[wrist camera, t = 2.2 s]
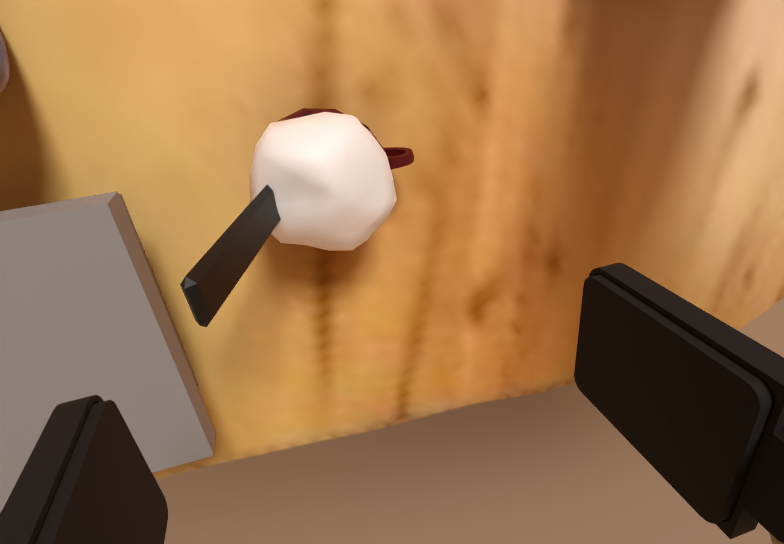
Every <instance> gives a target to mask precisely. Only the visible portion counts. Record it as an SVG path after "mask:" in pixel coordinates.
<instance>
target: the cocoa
mask: <svg viewBox="0 0 784 544" xmlns="http://www.w3.org/2000/svg"><path fill="white" fill-rule="evenodd" d="M413 161H414V155H413V152H412V150H411V149H409V148H397V147H392V148H383V147H382V146H381V144H380V143H379V142H378V140H377V139H376V138H375V136H374V135H373V133H372V132H371V131H370V129H369V128H368V127H367V126H366V125H364V124H362V123H360V122H359V121H358V120H357V118H356V117H354V116H352V115H346V114H343V113H341V112H339V111H338V110H336V109H307V108H303V109H301V110H299V111H297V112H295V113H293V114H291V115H289V116H287V117H285V118H283V119H281V120H279V121H277V122H273V123H270V124H269V126H268V127H267V129H266V130H265V132H264V133H263V135H262V136H261V137H260V139H259V140H258V142H257V143H256V145H255V148H254V154H253V160H252V166H251V172H250V202H251V203H250V204H249V205H248V206H247V207H246V209H245V210H244V211H243V212H242V213H241V214H240V215H239V216H238V218H237V219H236V220H235V221H234V222H233V223H232V224H231V225H230V227H229V228H228V229H227V230H226V231H225V232H224V233H223V234H222V236H221V237H220V238H219V239H218V240H217V241H216V242H215V244H214V245H213V246H212V247H211V248H210V249H209V250H208V251H207V253H206V254H205V255H204V256H203V257H202V258H201V259H200V260H199V262H198V263H197V264H196V265H195V266H194V267H193V268H192V269H191V271H190V272H189V273H188V274H187V275H186V276H185V278H184V279H183V281H182V283H181V284H180V285H181V288H182V290H183V292H184V295H185V297H186V299H187V302H188V304H189V306H190V309H191V311H192V313H193V316H194V318H195V320H196V322H197V323H198V324H199V325H200V326H204V327H207V326H208V324H209V323H210V322H211V320H212V319H213V317H214V316H215V314H216V313H217V311H218V310H219V308H220V307H221V306H222V304H223V303H224V301H225V300H226V298H227V297H228V295H229V294H230V292H231V291H232V290H233V288H234V287H235V285H236V284H237V282H238V281H239V279H240V278H241V276H242V275H243V274H244V272H245V271H246V269H247V268H248V266H249V265H250V263H251V262H252V260H253V259H254V258H255V256H256V255H257V253H258V252H259V250H260V249H261V247H262V246H263V244H264V243H265V242H266V240H267V239H268V237H269V236H270V234H272V235H273V236H274V237H275V238H276V239H277V240H278V241H279V242H280V243H286V244H298V245H307V246H311V247H315V248H320V249H324V250H328V251H339V250H354V249H355V248H356V247H358V246H359V245H361V244H362V243H364V242H365V241H366V240H368V239H369V238H370V236H371V235H372V233H373V232H374V231H375V230H376V229H377V228H378V227H379V226H380V225H381V224H382V223H383V222H384V221H385V220H386V219H387V218H388V216H389V214H390V212H391V211H392V209H393V207H394V205H395V203H396V201H397V198H396V193H395V187H394V182H393V177H392V173H391V169H395V168H399V167H403V166H407V165H409V164H411V163H412V162H413Z"/></svg>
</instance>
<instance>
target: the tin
mask: <svg viewBox="0 0 784 544" xmlns="http://www.w3.org/2000/svg"><path fill="white" fill-rule="evenodd" d="M9 75H10V64H9V57H8V53H7V49H6V45H5V41H4V38H3V36H2V33H1V31H0V94H1V93H2V92H3V91H4V90H5V88H6V86H7V84H8V81H9Z"/></svg>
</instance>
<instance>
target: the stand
mask: <svg viewBox="0 0 784 544" xmlns="http://www.w3.org/2000/svg"><path fill="white" fill-rule="evenodd" d="M197 385H198V384H197V381H196V379H195V376H194V374H193V371H192V369H191V366H190V364H189V361H188V359H187V356H186V354H185V351H184V349H183V347H182V344H181V342H180V339H179V337H178V334H177V332H176V329H175V327H174V324H173V322H172V319H171V317H170V314H169V312H168V309H167V307H166V304H165V302H164V299H163V297H162V294H161V292H160V289H159V287H158V285H157V282H156V280H155V277H154V275H153V272H152V270H151V267H150V265H149V262H148V260H147V257H146V255H145V252H144V250H143V247H142V245H141V242H140V240H139V237H138V235H137V232H136V230H135V228H134V225H133V223H132V220H131V218H130V215H129V213H128V210H127V208H126V205H125V203H124V200H123V198H122V195H121V194H119V193H118V191H117V192H111V193H105V194H100V195H94V196H88V197H82V198H76V199H70V200H64V201H58V202H52V203H47V204H41V205H35V206H29V207H23V208H17V209H11V210H5V211H0V513H1V511H2V510H3V508H4V506H5V504H6V502H7V500H8V498H9V496H10V494H11V492H12V490H13V488H14V486H15V484H16V482H17V480H18V478H19V476H20V474H21V472H22V470H23V468H24V466H25V464H26V463H27V461H28V459H29V457H30V455H31V453H32V451H33V449H34V447H35V445H36V443H37V441H38V439H39V437H40V435H41V433H42V431H43V429H44V427H45V425H46V423H47V421H48V419H49V418H50V416H51V414H52V412H53V410H54V408H55V407H56V406H57V405H59V404H61V403H65V402H69V401H73V400H76V399H80V398H84V397H88V396H92V395H98V396H100V397H101V398H102V399H103V400H104V401H107V400H112V401H114V402H115V404H116V405H117V407H118V409H119V411H120V413H121V415H122V417H123V419H124V420H125V422H126V424H127V426H128V428H129V430H130V432H131V434H132V436H133V438H134V440H135V442H136V443H137V445H138V447H139V449H140V451H141V453H142V455H143V457H144V459H145V461H146V463H147V465H148V466H149V468H150V470H151V472H152V473H153V472H157V471H161V470H164V469H168V468H171V467H175V466H179V465H182V464H186V463H189V462H193V461H197V460H200V459H204V458H207V457H211V456H214V448H215V437H216V432H215V430H214V427H213V425H212V422H211V420H210V418H209V415H208V413H207V410H206V408H205V405H204V403H203V400H202V398H201V395H200V393H199V390H198V388H197Z"/></svg>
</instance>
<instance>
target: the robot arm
mask: <svg viewBox="0 0 784 544" xmlns="http://www.w3.org/2000/svg"><path fill="white" fill-rule="evenodd" d="M574 378H575V382H576V384H577V386H578V388H579V390H580V391H581V392H582V393H583V394H584V395H585V396H586V397H587V398H588V399H589V400H590V401H591V403H592V404H593V405H594V406H595V407H596V408H597V409H598V410H599V411H600V412H601V413H602V414H603V415H604V416H605V417H606V418H607V419H608V420H609V421H610V422H611V423H612V424H613V425H614V426H615V428H617V430H618V431H619V432H620V433H621V434H622V435H623V436H624V437H625V438H626V439H627V440H628V441H629V442H630V443H631V444H632V445H633V446H634V447H635V448H636V449H637V450H638V452H639V453H640V454H642V456H643V457H645V459H646V460H647V461H648V462H649V463H650V464H651V465H652V466H653V467H654V468H655V469H656V470H657V471H658V472H659V473H660V474H661V475H662V476H663V478H664V479H665V480H666V481H667V482H668V483H669V484H670V485H671V486H672V487H673V488H674V489H675V490H676V491H677V492H678V493H679V494H680V495H681V496H682V497H683V498H684V499H685V500H686V501H687V503H688V504H689V505H690V506H691V507H692V508H693V509H694V510H695V511H696V512H697V513H698V514H699V515H700V516H701V517H702V518H704V519H705V520H706V521H708V522H710V523H715V524H716V525H717V526H718V527H719V528H720V529H721V530H722V531H723V532H724V533H725V534H726V535H727V536H728V537H729V538H730V539H732V538H734V537H737V536H739V535H742V534H744V533H747V532H749V531H752V530H754V529H755V528H756V526H757V524H758V522H759V523H760V524H761V525H762V526H763V527H764V528H765V529H766V530H767V531H768V532H769V533H770V537H771V541H772V544H784V358H783V357H781V356H780V355H778V354H776V353H775V352H773V351H771V350H770V349H768V348H766V347H764V346H763V345H761V344H759V343H758V342H756V341H754V340H752V339H751V338H749V337H747V336H746V335H744V334H742V333H741V332H739V331H737V330H736V329H734V328H732V327H730V326H729V325H727V324H725V323H724V322H722V321H720V320H719V319H717V318H715V317H713V316H712V315H710V314H708V313H707V312H705V311H703V310H702V309H700V308H698V307H696V306H695V305H693V304H691V303H690V302H688V301H686V300H685V299H683V298H681V297H679V296H678V295H676V294H674V293H673V292H671V291H669V290H668V289H666V288H664V287H663V286H661V285H659V284H657V283H656V282H654V281H652V280H651V279H649V278H647V277H646V276H644V275H642V274H640V273H639V272H637V271H635V270H634V269H632V268H630V267H629V266H627V265H625V264H622V263H615V264H611V265H607V266H603V267H599V268H595V269H594V270H592V271H591V273H590V275H589V277H588V278H587V279H586V280H585V282H584V287H583V296H582V306H581V315H580V325H579V334H578V344H577V353H576V363H575V372H574ZM167 520H168V509H167V503H166V500H165V497H164V495H163V493H162V491H161V489H160V488H159V486H158V484H157V482H156V480H155V478H154V476H153V474H152V472H151V470H150V468H149V466H148V465H147V463H146V461H145V459H144V457H143V455H142V453H141V451H140V449H139V447H138V445H137V443H136V442H135V440H134V438H133V436H132V434H131V432H130V430H129V428H128V426H127V424H126V422H125V420H124V419H123V417H122V415H121V413H120V411H119V409H118V407H117V405H116V404H115V402H114V401H112V400H107V401H104V400H103V399H102V398H101V397H100V396H98V395H92V396H88V397H84V398H80V399H76V400H73V401H69V402H65V403H61V404H59V405H57V406H56V407H55V408H54V410H53V412H52V414H51V416H50V418H49V419H48V421H47V423H46V425H45V427H44V429H43V431H42V433H41V435H40V437H39V439H38V441H37V443H36V445H35V447H34V449H33V451H32V453H31V455H30V457H29V459H28V461H27V463H26V464H25V466H24V468H23V470H22V472H21V474H20V476H19V478H18V480H17V482H16V484H15V486H14V488H13V490H12V492H11V494H10V496H9V498H8V500H7V502H6V504H5V506H4V508H3V510H2V511H1V513H0V544H164V539H165V533H166V527H167Z"/></svg>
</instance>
